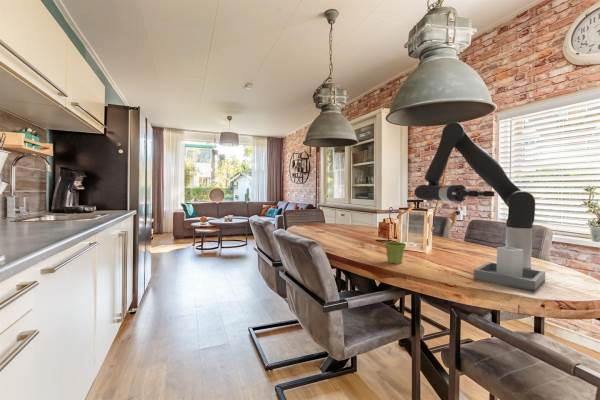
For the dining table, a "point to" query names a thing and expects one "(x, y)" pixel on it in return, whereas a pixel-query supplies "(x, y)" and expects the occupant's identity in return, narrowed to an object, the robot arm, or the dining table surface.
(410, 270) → the dining table surface
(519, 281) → the tray
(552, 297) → the dining table surface
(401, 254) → the plant pot
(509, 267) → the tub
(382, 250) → the dining table surface
